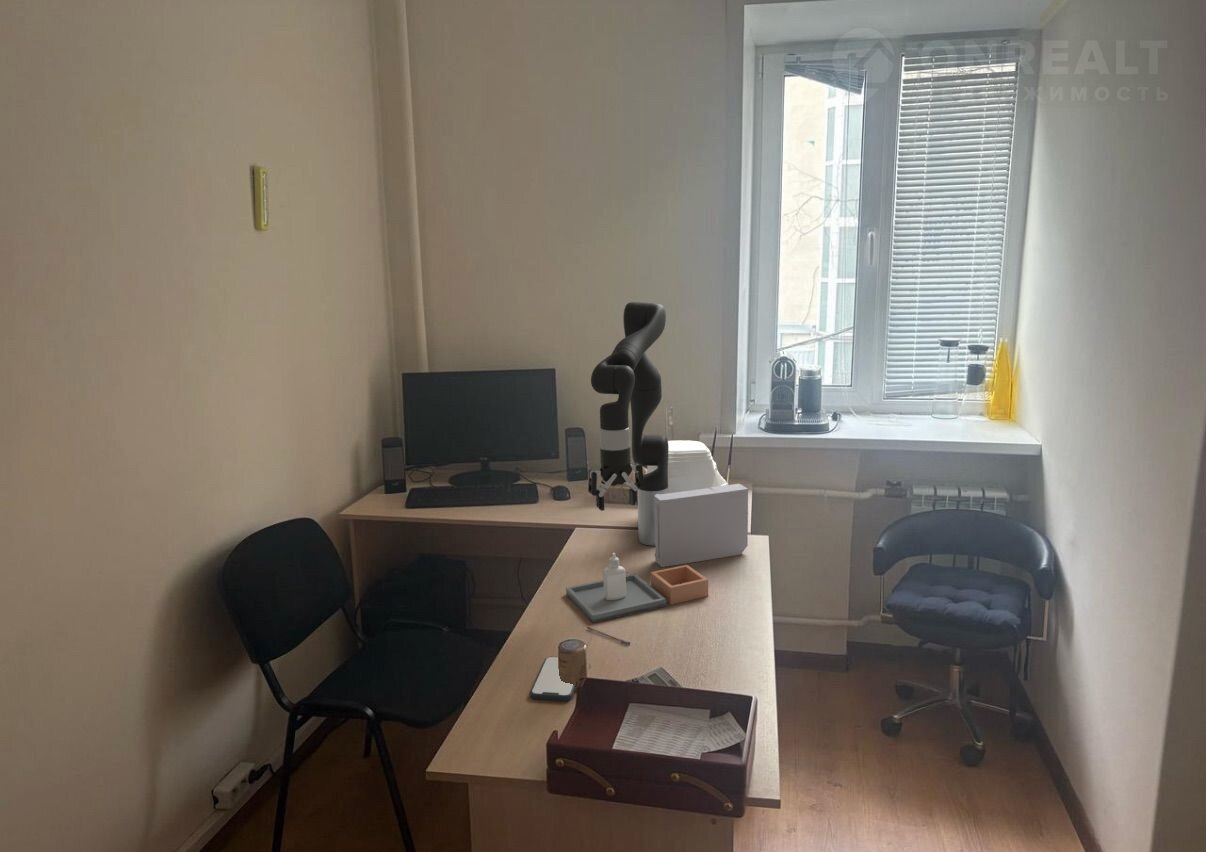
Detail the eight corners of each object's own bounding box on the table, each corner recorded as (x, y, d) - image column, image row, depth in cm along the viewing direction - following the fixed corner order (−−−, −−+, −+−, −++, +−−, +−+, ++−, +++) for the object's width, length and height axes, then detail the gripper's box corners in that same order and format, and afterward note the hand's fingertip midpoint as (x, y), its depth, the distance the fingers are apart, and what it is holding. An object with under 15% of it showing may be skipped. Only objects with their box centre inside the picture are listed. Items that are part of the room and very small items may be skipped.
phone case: (546, 662, 176) (528, 701, 160) (545, 655, 176) (528, 694, 160) (585, 664, 175) (571, 703, 159) (585, 657, 174) (571, 696, 159)
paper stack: (648, 511, 271) (646, 438, 266) (727, 510, 269) (728, 437, 263) (646, 533, 251) (645, 454, 245) (733, 532, 249) (733, 453, 243)
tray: (566, 594, 208) (566, 587, 208) (635, 580, 216) (634, 573, 215) (593, 623, 192) (592, 615, 191) (666, 606, 200) (666, 599, 199)
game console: (653, 560, 229) (652, 494, 225) (738, 547, 237) (738, 483, 233) (660, 567, 224) (659, 500, 219) (747, 554, 232) (748, 488, 227)
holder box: (650, 588, 210) (650, 572, 209) (687, 580, 215) (687, 564, 214) (670, 604, 201) (670, 587, 200) (708, 595, 205) (708, 579, 204)
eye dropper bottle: (625, 601, 201) (624, 556, 199) (603, 600, 202) (601, 556, 199) (626, 593, 205) (625, 550, 203) (605, 593, 206) (603, 550, 203)
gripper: (634, 438, 203) (635, 498, 206) (582, 445, 197) (585, 507, 201) (647, 444, 196) (648, 506, 200) (594, 452, 190) (596, 516, 194)
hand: (616, 507), depth 200 cm, fingers open, 8 cm apart
